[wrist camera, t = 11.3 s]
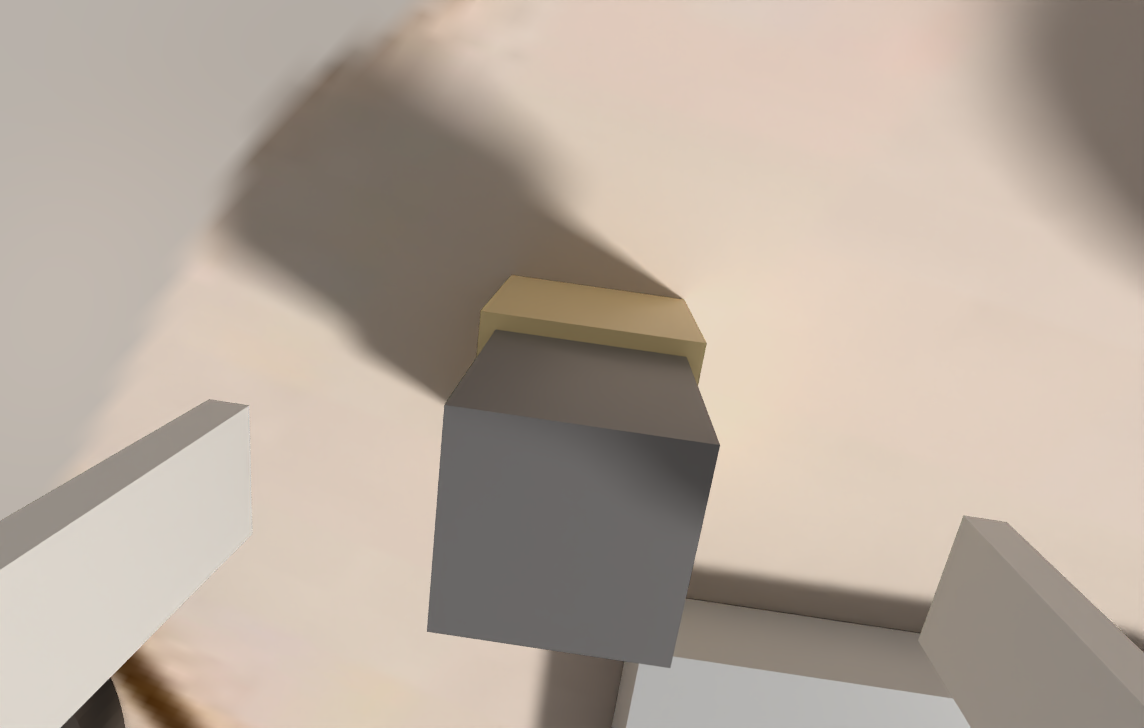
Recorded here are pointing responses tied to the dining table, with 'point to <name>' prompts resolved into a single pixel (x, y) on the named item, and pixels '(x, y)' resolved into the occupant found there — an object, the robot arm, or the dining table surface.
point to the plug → (574, 474)
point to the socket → (785, 676)
